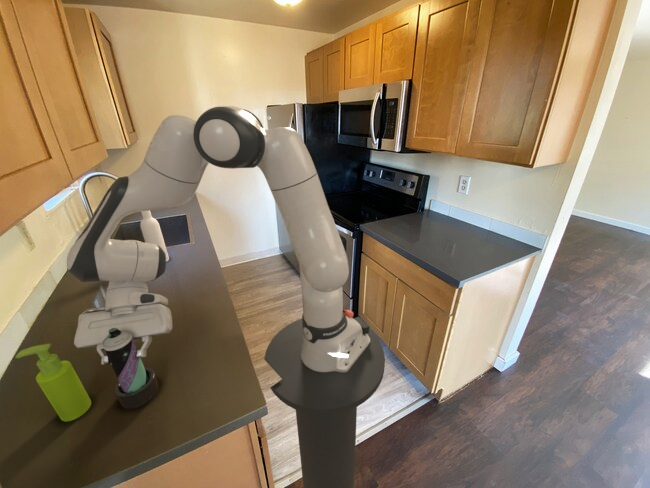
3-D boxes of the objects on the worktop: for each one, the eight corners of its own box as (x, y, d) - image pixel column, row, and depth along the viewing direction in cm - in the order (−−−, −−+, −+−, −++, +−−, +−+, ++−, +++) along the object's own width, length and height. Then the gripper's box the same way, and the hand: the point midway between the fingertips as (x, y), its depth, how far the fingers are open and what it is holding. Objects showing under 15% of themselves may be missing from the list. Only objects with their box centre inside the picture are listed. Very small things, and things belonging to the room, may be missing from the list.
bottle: (153, 259, 142) (135, 202, 130) (170, 256, 144) (154, 200, 132) (150, 265, 135) (131, 206, 123) (168, 263, 138) (151, 204, 125)
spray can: (121, 401, 68) (91, 339, 60) (134, 382, 73) (108, 322, 65) (144, 400, 68) (117, 338, 60) (155, 381, 73) (132, 321, 65)
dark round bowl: (154, 374, 76) (149, 362, 74) (162, 394, 70) (157, 381, 69) (118, 392, 71) (112, 380, 69) (123, 416, 65) (117, 403, 63)
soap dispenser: (61, 404, 68) (23, 343, 60) (95, 395, 70) (63, 334, 62) (50, 427, 63) (7, 363, 55) (86, 416, 65) (50, 353, 57)
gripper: (71, 308, 65) (63, 371, 60) (166, 294, 69) (165, 351, 65) (88, 311, 71) (82, 369, 66) (174, 298, 75) (174, 352, 70)
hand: (124, 360), depth 65 cm, fingers open, 6 cm apart
